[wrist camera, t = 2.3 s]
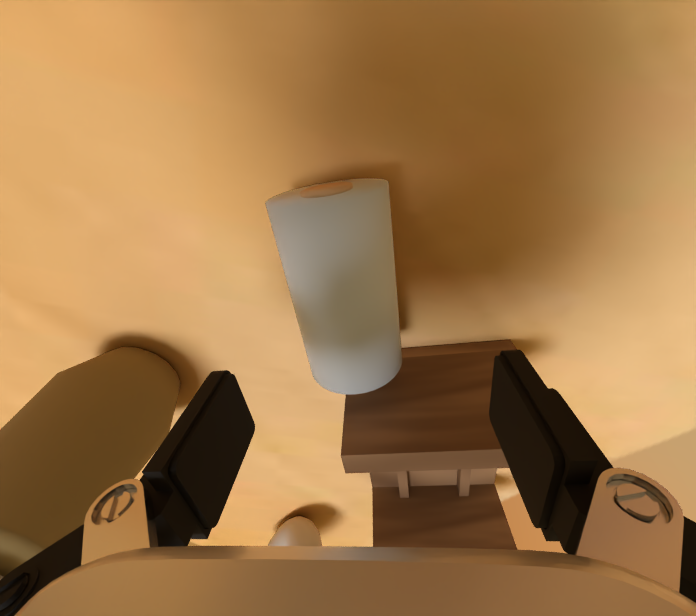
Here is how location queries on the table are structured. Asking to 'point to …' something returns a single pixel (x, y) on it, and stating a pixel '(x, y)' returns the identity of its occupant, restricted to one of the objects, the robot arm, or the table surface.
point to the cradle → (431, 450)
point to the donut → (296, 533)
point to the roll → (342, 280)
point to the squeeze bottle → (79, 445)
